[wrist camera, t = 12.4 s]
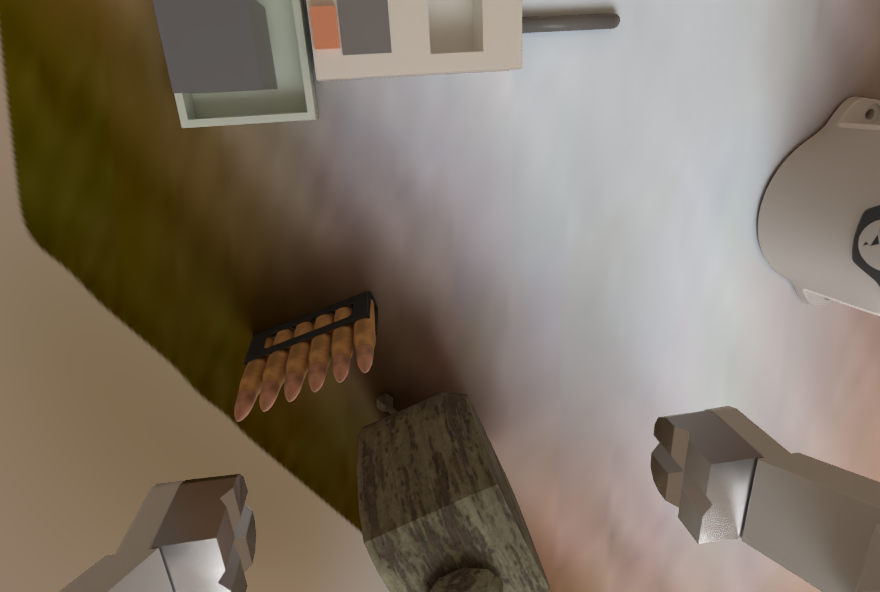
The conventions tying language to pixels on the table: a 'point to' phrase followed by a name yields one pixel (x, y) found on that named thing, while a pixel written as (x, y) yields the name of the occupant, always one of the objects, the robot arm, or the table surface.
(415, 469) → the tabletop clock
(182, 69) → the block
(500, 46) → the power strip
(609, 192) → the table surface
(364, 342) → the ammunition clip
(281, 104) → the parts tray
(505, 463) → the table surface
